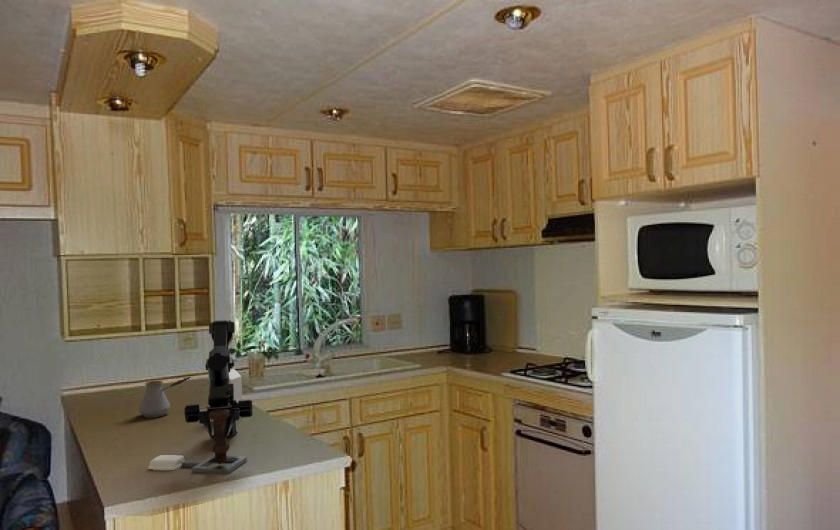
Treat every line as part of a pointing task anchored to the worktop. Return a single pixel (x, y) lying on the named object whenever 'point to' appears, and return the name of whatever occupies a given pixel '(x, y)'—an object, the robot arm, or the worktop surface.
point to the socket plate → (201, 467)
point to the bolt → (220, 434)
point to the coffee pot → (156, 399)
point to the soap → (166, 462)
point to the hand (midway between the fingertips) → (219, 436)
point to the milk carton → (236, 383)
